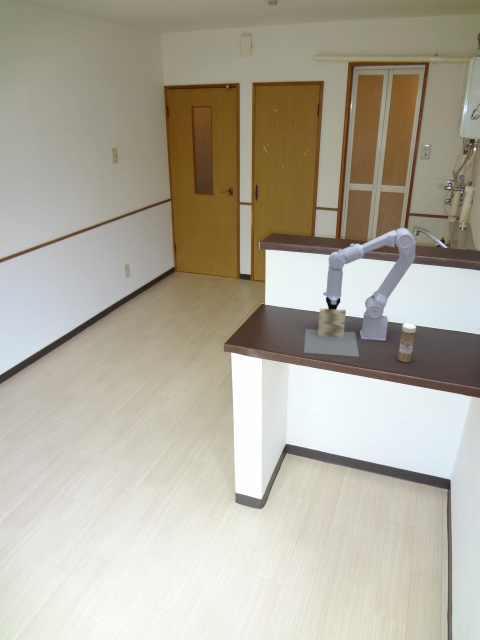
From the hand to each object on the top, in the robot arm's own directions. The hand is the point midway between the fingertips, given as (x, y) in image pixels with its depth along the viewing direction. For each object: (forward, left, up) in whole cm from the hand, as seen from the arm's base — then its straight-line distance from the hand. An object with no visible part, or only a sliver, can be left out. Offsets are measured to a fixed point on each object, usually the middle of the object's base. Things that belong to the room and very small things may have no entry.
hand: (331, 315), depth 184 cm
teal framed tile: (0, +3, -8) cm, 8 cm away
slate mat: (0, +9, -8) cm, 12 cm away
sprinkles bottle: (-26, +19, -8) cm, 33 cm away
